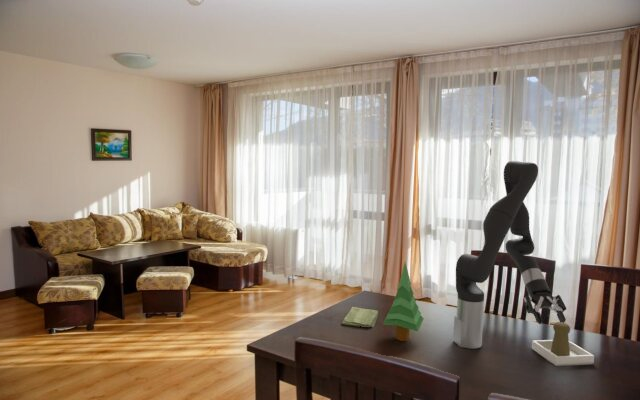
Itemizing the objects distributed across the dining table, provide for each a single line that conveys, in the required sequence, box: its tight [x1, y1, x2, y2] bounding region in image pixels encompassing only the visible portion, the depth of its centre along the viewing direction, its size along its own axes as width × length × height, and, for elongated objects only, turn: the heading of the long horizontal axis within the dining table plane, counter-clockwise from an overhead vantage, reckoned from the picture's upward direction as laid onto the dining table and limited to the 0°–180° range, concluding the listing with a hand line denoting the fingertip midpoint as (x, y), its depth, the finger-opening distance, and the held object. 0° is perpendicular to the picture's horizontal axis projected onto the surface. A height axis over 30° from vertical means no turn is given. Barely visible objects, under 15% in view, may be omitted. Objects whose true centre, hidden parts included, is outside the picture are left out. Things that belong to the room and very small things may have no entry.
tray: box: [531, 339, 595, 367], centre depth 154 cm, size 14×14×3 cm
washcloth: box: [341, 306, 379, 329], centre depth 186 cm, size 13×18×3 cm
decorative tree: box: [382, 261, 424, 342], centre depth 166 cm, size 14×16×30 cm
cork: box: [551, 321, 571, 356], centre depth 154 cm, size 6×6×11 cm
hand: (552, 322), depth 159 cm, fingers open, 8 cm apart
